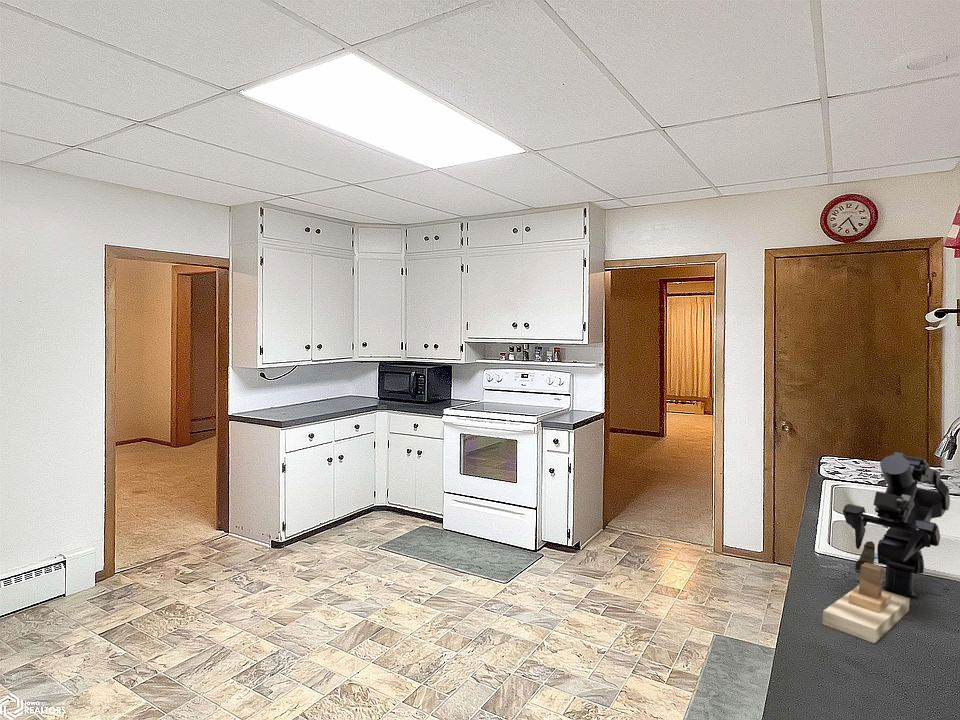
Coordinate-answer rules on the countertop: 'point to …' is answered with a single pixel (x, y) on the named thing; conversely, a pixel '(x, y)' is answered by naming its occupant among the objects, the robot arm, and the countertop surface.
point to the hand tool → (866, 555)
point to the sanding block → (870, 589)
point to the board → (865, 617)
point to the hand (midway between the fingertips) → (879, 554)
